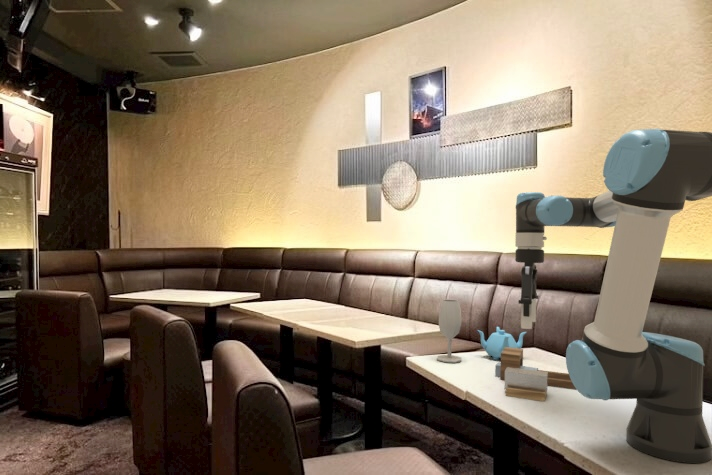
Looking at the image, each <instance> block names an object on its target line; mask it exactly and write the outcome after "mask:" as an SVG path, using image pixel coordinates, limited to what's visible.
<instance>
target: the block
mask: <svg viewBox="0 0 712 475" xmlns="http://www.w3.org/2000/svg"><path fill="white" fill-rule="evenodd" d="M544 371H545V370H543V371H536V370H528V369H519V368H511V367H507V368H506V370H505V380H504V390H506V387H509V388H516V389H523V390H530V391H538V392H545V395H546V396H547V395H548V388H549V386H548V372H544Z"/></svg>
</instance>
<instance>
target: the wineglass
mask: <svg viewBox="0 0 712 475" xmlns="http://www.w3.org/2000/svg"><path fill="white" fill-rule="evenodd" d="M461 310H462V309H461V304H460V300H458V299H453V298H452V299H451V298H447V299H445V298H444V299H442V300H441V304H440V307H439V313H438V328H439V332H440V334H442V335H443V336H444V337H445V338H446V339H447V354H441V355H437V358H436V360H437V361H439V362H442V363H449V364H450V363H451V364H452V363H453V364H457V363H460V362H462V356H458V355H453V354H452V340H453V339H454V338H455V337H457V335H458V334H460V330H461V326H462V311H461Z"/></svg>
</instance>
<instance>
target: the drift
mask: <svg viewBox="0 0 712 475" xmlns="http://www.w3.org/2000/svg"><path fill="white" fill-rule="evenodd" d="M520 369H528V370H536V371H538V370H539V367H531V366H525V365H523V366H520ZM494 370H495V371H494V372H495V373H494V374H495V376H494V377H497V378H500V370H501V362H497V363H496V364H495V369H494Z"/></svg>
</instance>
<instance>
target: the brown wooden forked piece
mask: <svg viewBox="0 0 712 475" xmlns="http://www.w3.org/2000/svg"><path fill="white" fill-rule="evenodd" d="M500 363H501V370H500V377H499V380H501V381H505V370H506V368H507V367H511V368H519V369H520V366H524V348H521V349H519V348H510V347H505V348H504V350H503V351H502V352H501V358H500ZM538 371H544V372H548V387H552V388H553V387H556V388H562V389H570V390H577V389H576V388H575V386H574V385H573V383H572V381H571V379H570V376H569V373H568V372H558V371H557V372H556V371H550V370H543V369H538ZM577 391H578V390H577Z"/></svg>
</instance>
